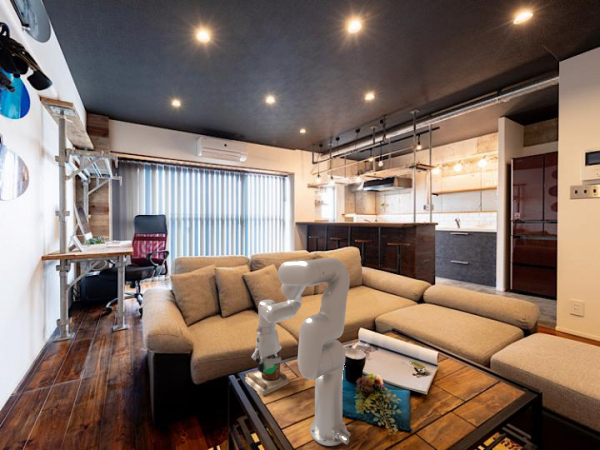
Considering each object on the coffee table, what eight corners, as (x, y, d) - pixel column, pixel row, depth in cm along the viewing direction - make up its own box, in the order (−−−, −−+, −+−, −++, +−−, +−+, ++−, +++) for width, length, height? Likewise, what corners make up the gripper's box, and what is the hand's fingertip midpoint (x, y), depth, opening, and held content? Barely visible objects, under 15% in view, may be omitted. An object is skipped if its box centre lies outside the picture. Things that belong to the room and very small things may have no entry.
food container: (253, 375, 126) (252, 353, 125) (263, 369, 130) (263, 348, 130) (271, 386, 117) (270, 362, 117) (281, 379, 122) (281, 357, 121)
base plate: (289, 383, 123) (289, 375, 123) (262, 396, 114) (262, 387, 114) (270, 370, 134) (270, 363, 134) (245, 381, 124) (245, 373, 124)
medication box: (401, 365, 139) (400, 357, 139) (405, 363, 140) (404, 355, 140) (422, 376, 129) (421, 367, 128) (426, 374, 130) (425, 365, 130)
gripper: (255, 336, 115) (255, 379, 115) (287, 325, 126) (287, 365, 126) (245, 331, 120) (245, 372, 121) (277, 321, 132) (277, 359, 132)
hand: (267, 368), depth 124 cm, fingers closed on food container, 6 cm apart
